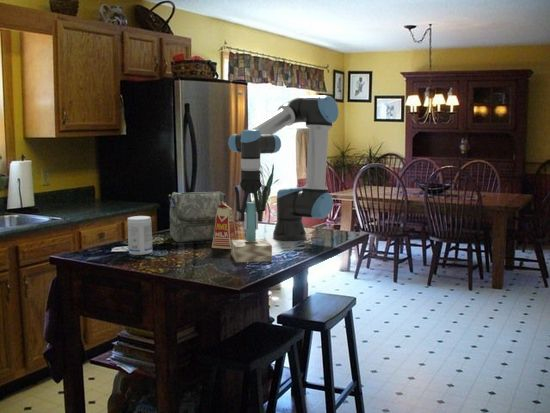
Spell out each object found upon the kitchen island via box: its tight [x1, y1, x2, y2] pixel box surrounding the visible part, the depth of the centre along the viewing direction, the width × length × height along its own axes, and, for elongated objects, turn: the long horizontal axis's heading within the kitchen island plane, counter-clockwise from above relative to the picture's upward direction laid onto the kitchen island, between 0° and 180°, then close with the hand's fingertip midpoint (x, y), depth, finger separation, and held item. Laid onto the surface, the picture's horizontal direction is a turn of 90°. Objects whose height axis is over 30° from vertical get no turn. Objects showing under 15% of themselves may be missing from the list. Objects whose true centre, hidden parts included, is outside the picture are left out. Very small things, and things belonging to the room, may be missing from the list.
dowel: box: [245, 201, 257, 242], centre depth 243 cm, size 4×4×15 cm
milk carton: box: [211, 201, 237, 250], centre depth 266 cm, size 9×9×20 cm
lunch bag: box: [168, 190, 226, 243], centre depth 284 cm, size 26×18×22 cm
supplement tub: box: [127, 215, 153, 256], centre depth 253 cm, size 10×10×15 cm
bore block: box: [230, 238, 273, 263], centre depth 245 cm, size 14×14×6 cm
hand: (250, 229), depth 243 cm, fingers closed on dowel, 4 cm apart
